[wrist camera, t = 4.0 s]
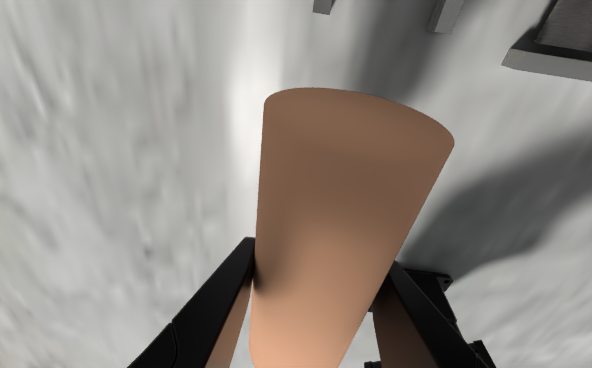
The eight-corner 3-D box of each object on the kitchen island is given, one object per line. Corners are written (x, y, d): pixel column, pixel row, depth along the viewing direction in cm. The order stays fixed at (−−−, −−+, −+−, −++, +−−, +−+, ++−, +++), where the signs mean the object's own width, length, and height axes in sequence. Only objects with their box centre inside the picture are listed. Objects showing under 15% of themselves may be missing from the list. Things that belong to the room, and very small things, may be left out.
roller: (337, 300, 13) (346, 400, 10) (257, 291, 13) (239, 389, 10) (414, 100, 7) (499, 176, 4) (275, 79, 7) (246, 140, 4)
